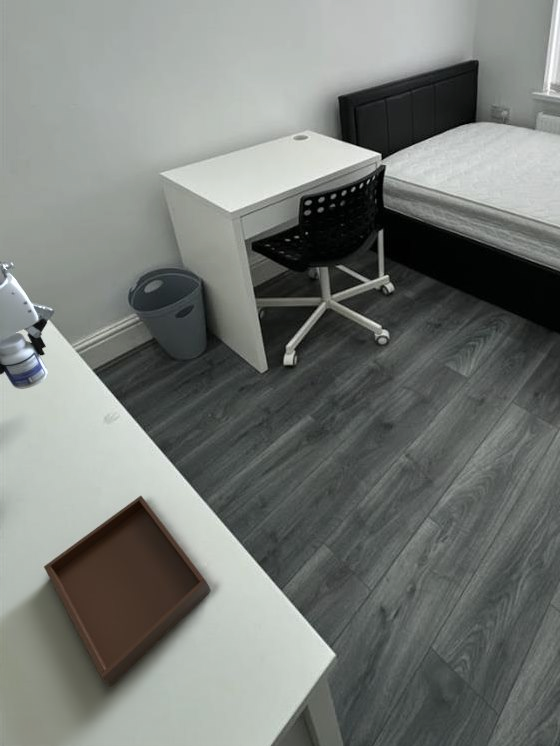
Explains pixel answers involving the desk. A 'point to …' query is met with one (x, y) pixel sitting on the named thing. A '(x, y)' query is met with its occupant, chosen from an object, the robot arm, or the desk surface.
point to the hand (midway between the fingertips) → (20, 360)
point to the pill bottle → (21, 361)
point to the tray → (125, 587)
